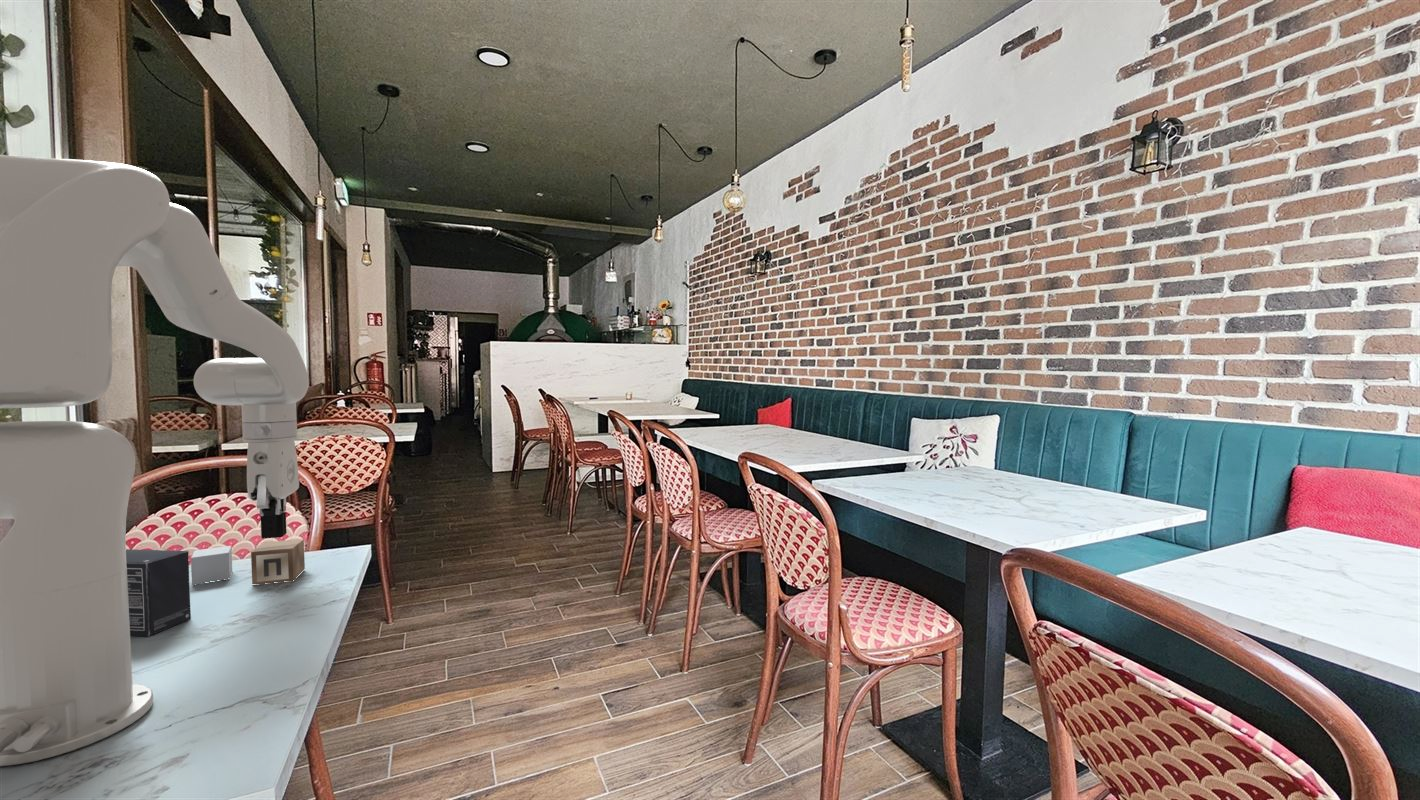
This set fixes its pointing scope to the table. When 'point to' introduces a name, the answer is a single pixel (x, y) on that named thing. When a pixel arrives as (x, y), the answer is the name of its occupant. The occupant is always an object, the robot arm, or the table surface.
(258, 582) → the walnut cube
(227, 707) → the table surface
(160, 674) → the table surface
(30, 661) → the robot arm
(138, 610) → the small box
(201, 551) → the grey block
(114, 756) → the table surface
